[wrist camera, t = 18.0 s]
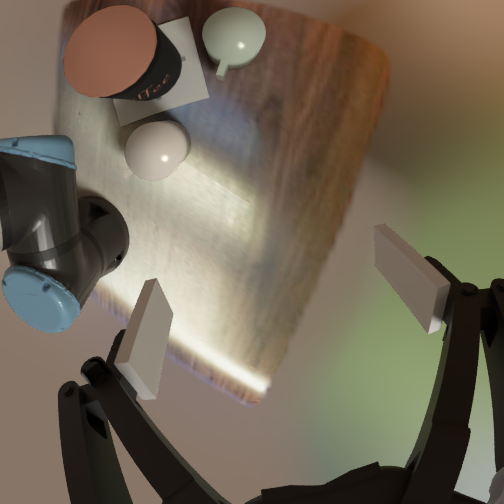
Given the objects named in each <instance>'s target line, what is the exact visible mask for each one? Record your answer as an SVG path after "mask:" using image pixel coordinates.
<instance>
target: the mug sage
mask: <svg viewBox="0 0 504 504" xmlns="http://www.w3.org/2000/svg"><path fill="white" fill-rule="evenodd" d="M265 35H266V30H265V26H264V23H263V22H262V20H261V19H260V17H259V16H258V15H256V14H255V13H254V12H252V11H250V10H248V9H244V8H240V7H230V8H225V9H222V10H219V11H217V12H215V13H214V14H212V15H211V16H210V17H209V18H208V19H207V21H206V22H205V24H204V27H203V31H202V37H203V41H204V44H205V47H206V50H207V52H208V55H209V57H210V59H211V60H212V62H213V63H214V64H216V65H217V66H219V67H218V70H217V73H216V76H217V79H220V80H224V79H225V76H226V73H227V70H237V69H241V68H244V67H246V66H248V65H249V64H251V63H252V62H253V61H254V60H255V58H256V56H257V54H258V52H259V50H260V48H261V46H262V44H263V42H264V40H265Z"/></svg>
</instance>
